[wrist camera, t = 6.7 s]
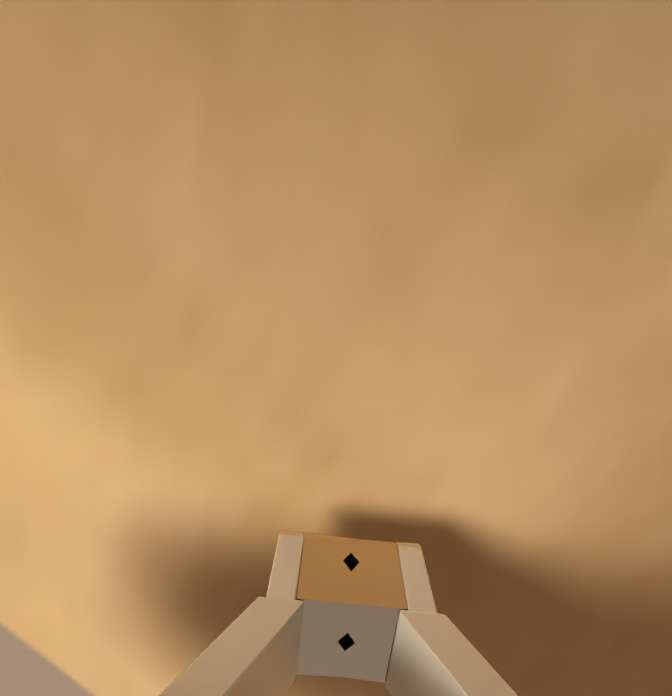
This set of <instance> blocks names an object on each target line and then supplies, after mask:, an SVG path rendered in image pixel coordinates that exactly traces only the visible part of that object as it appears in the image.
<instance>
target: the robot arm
mask: <svg viewBox="0 0 672 696" xmlns="http://www.w3.org/2000/svg"><path fill="white" fill-rule="evenodd" d="M296 675H312V676H329V677H343V678H351V679H358V680H366V681H374V682H382V683H386V684H385V686H386V688H387V690H388V692H389V694H390V695H391V696H518V695H517V694H516V693H515V692H514V691H513V690H512V688H511V687H510V686H509V685H508V684H507V683H506V682H505V681H504V680H503V678H502V677H501V676H500V675H499V674H498V673H497V672H496V671H495V669H494V668H493V667H492V666H491V665H490V664H489V663H488V662H487V661H486V659H485V658H484V657H483V656H482V655H481V654H480V653H479V652H478V651H477V649H476V648H475V647H474V646H473V645H472V644H471V643H470V642H469V640H468V639H467V638H466V637H465V636H464V635H463V634H462V633H461V632H460V630H459V629H458V628H457V627H456V626H455V625H454V624H453V623H452V621H451V620H450V619H449V618H448V617H447V616H446V615H445V614H438V613H437V609H436V605H435V601H434V597H433V593H432V588H431V584H430V580H429V576H428V572H427V568H426V564H425V560H424V556H423V552H422V548H421V546H420V545H419V544H418V543H405V542H390V541H379V540H367V539H356V538H345V537H337V536H329V535H321V534H313V533H305V535H304V533H300V532H293V531H285V530H281V532H280V534H279V537H278V542H277V547H276V551H275V556H274V561H273V566H272V571H271V575H270V580H269V585H268V590H267V595H266V597H257V598H256V599H255V600H254V601H253V602H252V603H251V604H250V605H249V606H248V607H247V608H246V609H245V610H244V611H243V612H242V613H241V614H240V615H239V616H238V617H237V618H236V619H235V620H234V621H233V622H232V623H231V624H230V625H229V626H228V627H227V628H226V629H225V630H224V631H223V632H222V633H221V634H220V635H219V636H218V637H217V638H216V639H215V640H214V641H213V642H212V643H211V644H210V645H209V646H208V647H207V648H206V649H205V650H204V651H203V652H202V653H201V654H200V655H199V656H198V657H197V658H196V659H195V660H194V661H193V662H192V663H191V664H190V665H189V666H188V667H187V668H186V669H185V670H184V671H183V672H182V673H181V674H180V675H179V676H178V677H177V678H176V679H175V680H174V681H173V682H172V683H171V684H170V685H169V686H168V687H167V688H166V689H165V690H164V691H163V692H162V693H161V694H160V695H159V696H285V695H286V693H287V692H288V690H289V688H290V687H291V685H292V684H293V682H294V681H295V679H296Z"/></svg>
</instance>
